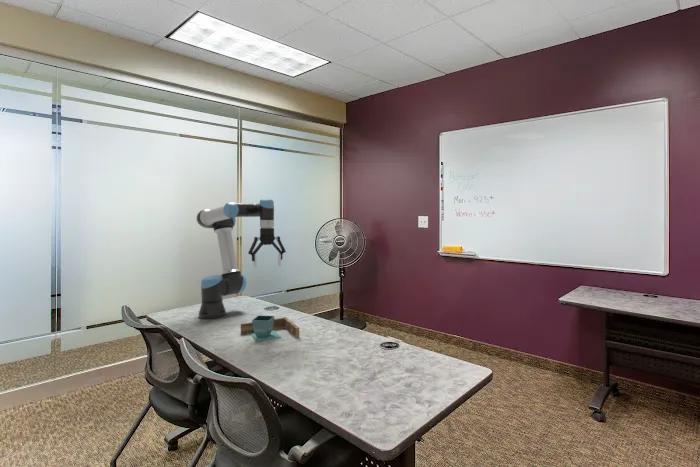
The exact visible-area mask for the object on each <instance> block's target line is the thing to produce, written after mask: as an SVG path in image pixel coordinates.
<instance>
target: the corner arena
mask: <svg viewBox="0 0 700 467" xmlns="http://www.w3.org/2000/svg"><path fill="white" fill-rule="evenodd" d="M278 329H285V330H286V331H287V332H288V333H290V334H291V335H292V336H293V337H294V338H295V339H300V326H298V325H296V324H295V323H294V322H293V321H292V320H290V319H289V318H288V317H286V316H285V317H278V318H274V325H273V329H272V330H278ZM251 333H254V330H253V324H252V321H249V322H244V323H243V322H242V323H240V334H241V335H244V334H251Z"/></svg>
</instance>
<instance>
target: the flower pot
mask: <svg viewBox="0 0 700 467" xmlns="http://www.w3.org/2000/svg"><path fill="white" fill-rule="evenodd" d="M274 319H275V315H256V316H255V317H254V318H252V319H251V322H252V324H253V330H254V332H253V333H255V334H256V336H257V337H268V336H269V335H270V333H271V331H272V330H274V329H273V325H274Z"/></svg>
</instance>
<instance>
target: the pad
mask: <svg viewBox="0 0 700 467" xmlns="http://www.w3.org/2000/svg"><path fill="white" fill-rule="evenodd" d="M250 336H251V337H252V338H253V339H254V340H255V342H256V343H258V342H263V341H271V340H276V339H281V338H282V336H281V335H280V334H279V333H278V332H276V330H275V329H272V331H271V333H270V335H269V336H268V337H257V336H256V334H255V333H254V332H253V333H250Z"/></svg>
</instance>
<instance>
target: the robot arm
mask: <svg viewBox="0 0 700 467" xmlns="http://www.w3.org/2000/svg"><path fill="white" fill-rule="evenodd" d="M274 203H275V202H274V200H273V199H270V198H269V199H267V198H266V199H260V200H259V202H251V203H250V202H227V203H225V204H224V205H223V206H219V207H215V208H212V209H209V208H206V209H201V210H200V211H199V212H197V214H196V222H197V224H199V226H200V227H202V228H205V229H213V233H215V234H216V235H217V242H218V248H219V254H220V259H221V261H220V262H221V267H222V272H221V274H213V275H208V276H206V277H204V278H202V279H201V281H200V288H201V289H200V291H201V293H200V295H201V297H200V298H201V304H200V307H199V310H198V318H200V319H201V320H202V319H203V320H205V319H206V320H213V319H218V318H219V319H220V318H223V317H225V316H226V314H227V311H226V307H225V305H224V302H223V298H224V297H225V296H227V297H228V296H230V295H231V296H232V295H237V294H241V293H243V292H244V291H245V289H246V287H247V278H246V276H245V274H243V273H241V270H240V269H238V263H237V257H236V252H235V247H234V240H233V234H232V231H233V230H234V227H235V226H236V220H237V219H236V218H247V217H248V218H250V217H251V218H256V217H257V218H258V217H259V227H260V228H259V236H254V237H253V242H252V244H251V246H250V248H249V250H248V255H250V256H251V261H252V262H253V267H254V269H255V268H257V253H258V252H259V250H260V249H261V248H262V247H263V246H267V245H268V246H271V245H272V246H273V248H275V249H276V252H278V253H277V265H278V267H281V266H282V260H283V255H284V253H285V254H286V252H287V251H286V248H285V247H284V245H283V243H282V240H281V236H279V235H277V236H275V205H274ZM258 241H260V242H259V243H258ZM275 241H277V243H278V245H277V244H276V242H275ZM257 243H258V245H257ZM256 245H257V246H256Z"/></svg>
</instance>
